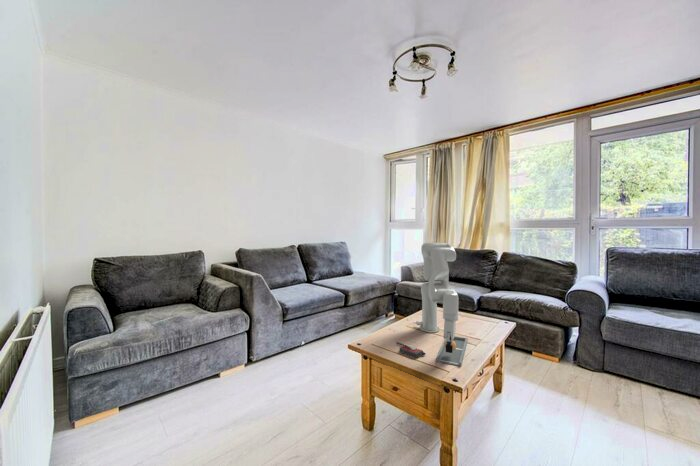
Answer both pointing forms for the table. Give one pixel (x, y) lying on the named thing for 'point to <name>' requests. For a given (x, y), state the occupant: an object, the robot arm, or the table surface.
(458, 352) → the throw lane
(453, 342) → the ball
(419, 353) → the walkie-talkie
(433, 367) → the table surface
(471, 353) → the table surface
